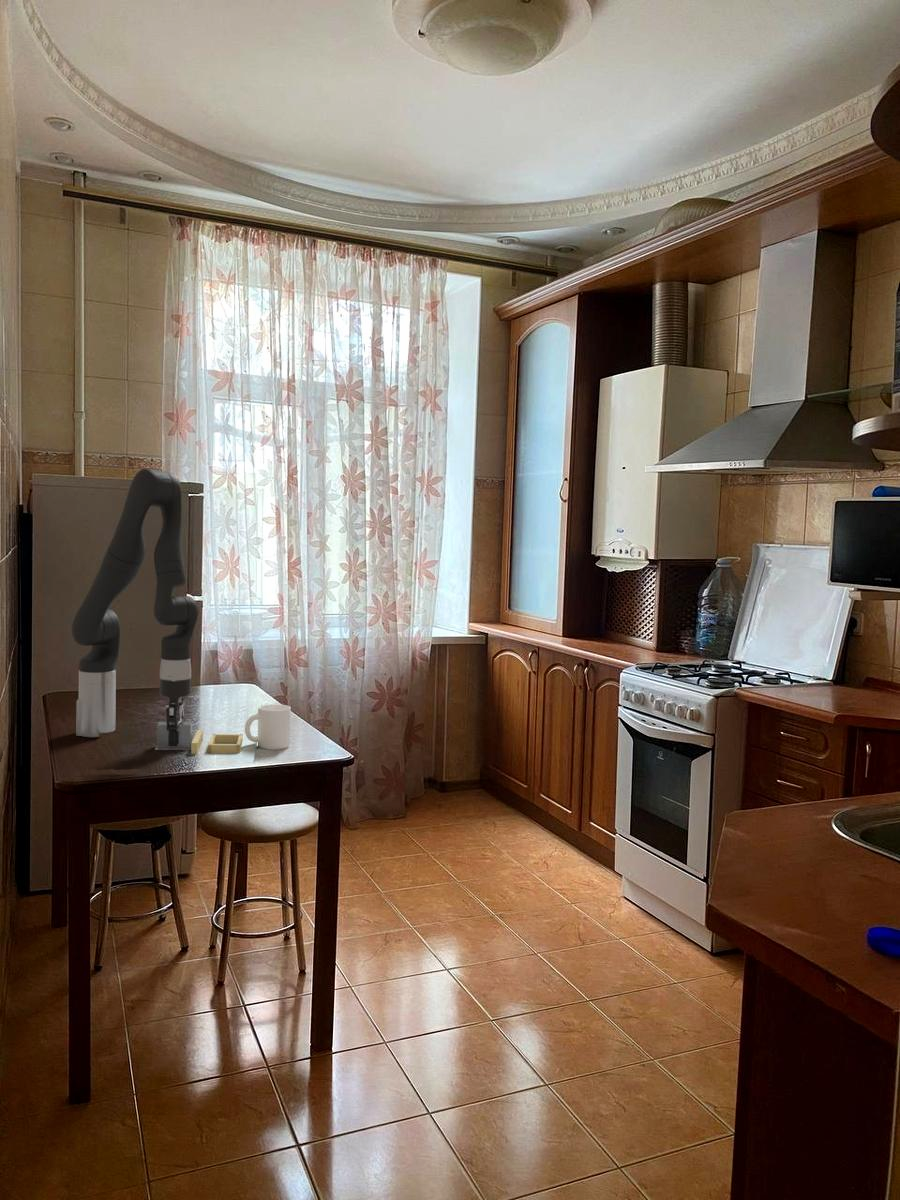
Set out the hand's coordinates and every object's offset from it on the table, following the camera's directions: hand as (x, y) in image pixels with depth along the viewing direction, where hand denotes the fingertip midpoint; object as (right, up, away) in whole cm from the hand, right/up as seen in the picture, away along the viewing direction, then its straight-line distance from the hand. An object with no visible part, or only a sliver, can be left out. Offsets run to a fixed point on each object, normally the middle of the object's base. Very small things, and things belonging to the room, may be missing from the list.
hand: (174, 742), depth 234 cm
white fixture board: (+6, -2, +1) cm, 7 cm away
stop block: (0, -1, 0) cm, 1 cm away
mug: (+21, -3, +8) cm, 23 cm away
